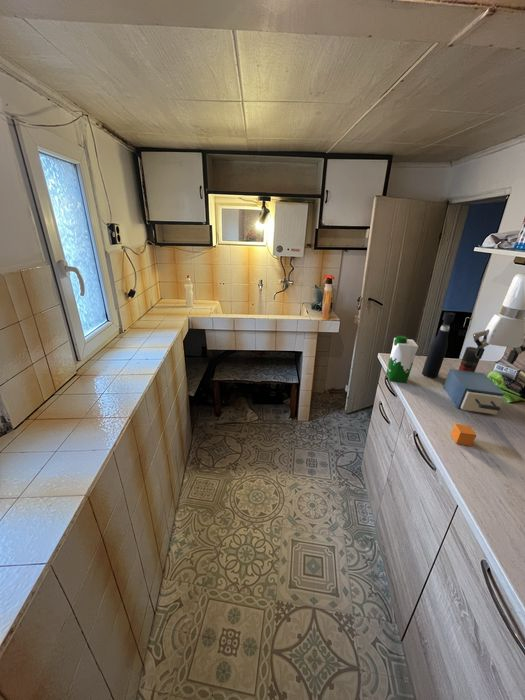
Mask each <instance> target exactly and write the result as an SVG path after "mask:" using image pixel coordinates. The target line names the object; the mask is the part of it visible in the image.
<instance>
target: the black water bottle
mask: <svg viewBox="0 0 525 700" xmlns="http://www.w3.org/2000/svg"><path fill="white" fill-rule="evenodd" d="M455 316H456V313H455V312H452V311H444V313H443V317H442V319H441V320H442V321H443V322H442V325H441V326H440V328H439V329H438V331H437V335H436V336H435V337H434V339H433V340H432V342H431V343H430V347H429V350H428V352H427V355H426V358H425V362H424V365H423V368H422V371H421V374H422V376H424V377H425V378H429V379H437V378H438V376H439V374H440V371H441V368H442V365H443V362H444V359H445V357H446V354H447V350H448V346H449V340H448V339H449V338H448V336H449V333H450V330H451V329H450V328H451V327H450V326H451V323H452V322H454V319H455Z"/></svg>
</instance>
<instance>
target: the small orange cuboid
mask: <svg viewBox="0 0 525 700" xmlns="http://www.w3.org/2000/svg"><path fill="white" fill-rule="evenodd" d="M450 436H451V437H452V439H453V441H454V442H455V444H456V445H463V446H468V447H472V446H473V444H474V442H475V440H476V438H477V436H478V435H477V433H476V432H475V431H474V429H473V428H472V426H471V425H466V424H461V423H454V426H453V428H452V430H451V433H450Z"/></svg>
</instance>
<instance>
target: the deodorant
mask: <svg viewBox="0 0 525 700" xmlns="http://www.w3.org/2000/svg"><path fill="white" fill-rule="evenodd" d="M476 349H477V347H474V346H467V347H466V348H465V350H464V353H463V356H462V358H461V361H460V363H459V366H458V369H457V370H463V371H471V372H476V370H477V367H478V364H479V362H480V360H481V359H478V358H477V357H476V356H475V352H476Z"/></svg>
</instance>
